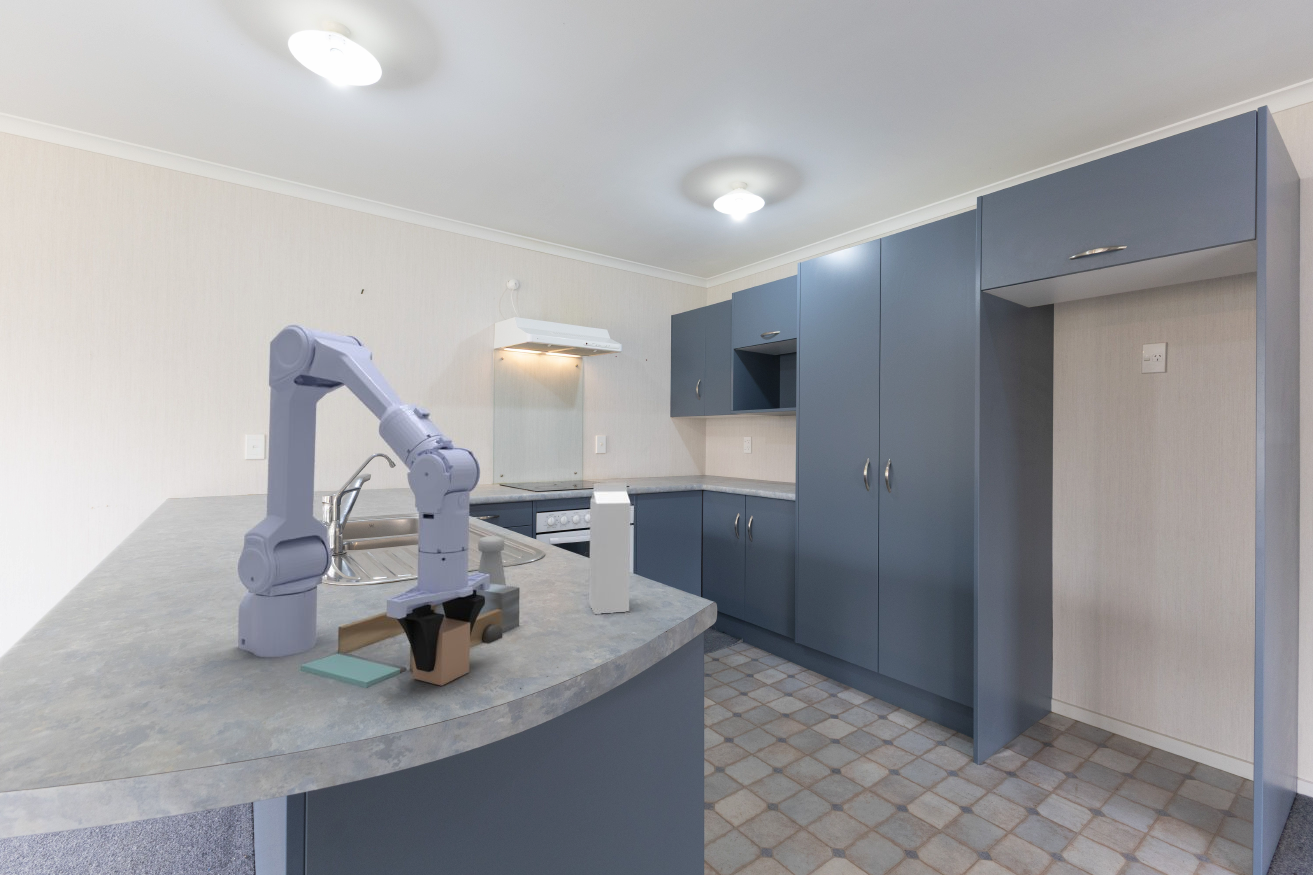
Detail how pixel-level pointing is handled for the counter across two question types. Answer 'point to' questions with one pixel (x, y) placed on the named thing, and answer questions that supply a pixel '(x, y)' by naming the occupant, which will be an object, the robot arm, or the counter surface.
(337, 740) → the counter surface
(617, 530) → the milk
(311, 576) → the robot arm
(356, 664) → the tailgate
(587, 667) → the counter surface
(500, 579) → the salt shaker
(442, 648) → the tan rectangular block
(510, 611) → the flatbed
